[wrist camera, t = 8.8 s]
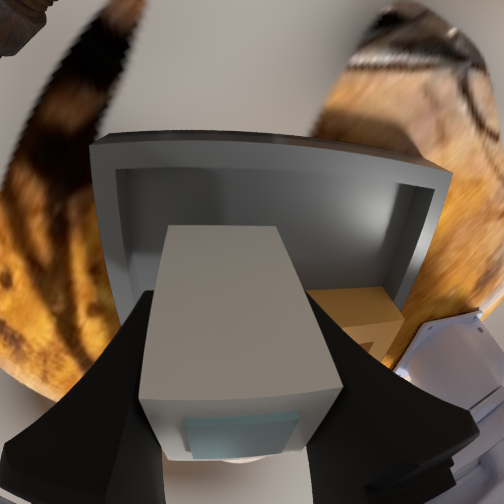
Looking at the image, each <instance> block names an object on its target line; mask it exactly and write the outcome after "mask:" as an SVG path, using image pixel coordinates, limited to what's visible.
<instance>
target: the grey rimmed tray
mask: <svg viewBox="0 0 504 504" xmlns="http://www.w3.org/2000/svg"><path fill="white" fill-rule="evenodd" d="M89 149H90V162H91V173H92V183H93V192H94V200H95V207H96V214H97V220H98V227H99V233H100V238H101V244H102V249H103V254H104V259H105V264H106V268H107V273H108V277H109V282H110V286H111V290H112V294H113V298H114V302H115V306H116V310H117V313H118V317H119V320H120V324H121V326H122V325H123V323H124V322H125V320H126V319H127V317H128V316H129V314H130V313H131V311H132V310H133V308H134V306H135V305H136V303H137V302H138V300H139V298H140V297H141V295H142V293H143V292H144V291H145V290H155V285H156V280H157V275H158V270H159V265H160V261H161V256H162V252H163V247H164V243H165V238H166V234H167V230H168V226H169V225H233V226H276V228H277V230H278V232H279V235H280V237H281V239H282V241H283V244H284V246H285V248H286V250H287V253H288V255H289V257H290V260H291V262H292V264H293V266H294V269H295V271H296V273H297V276H298V278H299V280H300V283H301V285H302V287H303V289H304V290H305V291H306V292H307V293H308V294H309V295H310V296H311V297H312V298H313V299H314V300H315V301H316V302H317V304H318V305H319V306H320V307H321V308H322V309H323V310H324V311H325V312H326V313H327V314H328V315H329V316H330V317H331V318H332V319H333V320H334V321H335V322H336V323H337V324H338V325H339V326H340V327H341V328H342V329H343V330H344V331H345V332H346V333H347V334H348V335H349V336H350V337H351V338H352V339H353V340H354V341H355V342H356V343H358V344H359V345H360V346H361V347H362V348H363V349H364V350H366V351H367V352H368V353H369V354H370V355H372V356H373V357H374V358H375V359H377V360H378V361H379V362H381V361H382V359H383V358H384V356H385V354H386V353H387V351H388V349H389V348H390V346H391V344H392V342H393V341H394V339H395V337H396V335H397V334H398V332H399V330H400V328H401V326H402V324H403V322H404V321H405V319H404V317H403V316H402V314H401V313H400V312H401V310H402V308H403V306H404V303H405V301H406V299H407V297H408V295H409V293H410V291H411V288H412V286H413V284H414V282H415V280H416V277H417V275H418V273H419V270H420V268H421V265H422V263H423V261H424V258H425V256H426V253H427V251H428V248H429V245H430V243H431V240H432V237H433V235H434V232H435V229H436V226H437V224H438V221H439V218H440V215H441V212H442V209H443V206H444V202H445V199H446V196H447V193H448V189H449V186H450V182H451V179H452V175H453V173H452V172H450V171H448V170H446V169H444V168H442V167H440V166H439V165H437V164H435V163H433V162H431V161H429V160H427V159H425V158H422V157H418V156H413V155H409V154H405V153H400V152H395V151H391V150H386V149H381V148H376V147H370V146H365V145H359V144H353V143H347V142H340V141H334V140H327V139H319V138H311V137H303V136H293V135H283V134H272V133H258V132H242V131H216V130H162V131H139V132H122V133H109V134H108V135H106V136H104V137H102V138H101V139H99V140H97V141H96V142H94V143H92V144H91V145H89Z"/></svg>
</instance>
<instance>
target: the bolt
mask: <svg viewBox="0 0 504 504" xmlns="http://www.w3.org/2000/svg"><path fill="white" fill-rule="evenodd" d="M53 1H58V0H0V58H1V57H2V56H14V55H16V54H17V53H18V52H19V51H20V49H22V47H24V46H25V45H26V44H27V42H29V40H30V39H31V38H32V37H34V36H35V35H36V34H37V32H38V31H40V30H41V29H42V28H43V27H44V26H45V24H46V14H45V11H47V7H48V6H52V5H53Z"/></svg>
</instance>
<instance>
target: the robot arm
mask: <svg viewBox="0 0 504 504" xmlns="http://www.w3.org/2000/svg"><path fill="white" fill-rule="evenodd" d="M303 290H304V289H303ZM304 292H305V294H306V297H307V299H308V301H309V304H310V306H311V308H312V311H313V313H314V316H315V318H316V320H317V323H318V325H319V328H320V330H321V332H322V335H323V337H324V340H325V342H326V345H327V347H328V350H329V352H330V355H331V357H332V360H333V362H334V365H335V367H336V370H337V372H338V375H339V377H340V380H341V382H342V385H343V388H342V389H341V391H340V393H339V395H338V396H337V398H336V400H335V401H334V403H333V404H332V406H331V408H330V409H329V411H328V412H327V414H326V416H325V417H324V419H323V420H322V422H321V423H320V425H319V426H318V428H317V429H316V431H315V432H314V434H313V435H312V437H311V438H310V440H309V441H308V442H307V444H306V448H307V455H308V461H309V468H310V476H311V483H312V494H313V504H504V352H503V350H502V349H501V348H500V346H499V345H498V343H497V342H496V341H495V339H494V338H493V337H492V335H491V334H490V333H489V331H488V330H487V329H486V328H485V326H484V325H483V324H482V322H481V321H480V318H481V317H482V315H483V312H482V311H481V310H480V311H476V312H471V313H467V314H463V315H458V316H454V317H449V318H445V319H440V320H435V321H430V322H425V323H424V324H422V326H421V327H420V329H419V330H418V332H417V334H416V336H415V337H414V339H413V341H412V342H411V344H410V345H409V347H408V349H407V350H406V352H405V353H404V355H403V357H402V358H401V360H400V361H399V363H398V364H397V366H396V367H395V369H394V370H393V371H391V370H390V369H389V368H387V367H386V366H385V365H383V364H382V363H381V362H379V361H378V360H377V359H375V358H374V357H373V356H372V355H370V354H369V353H368V352H367V351H366V350H364V349H363V348H362V347H361V346H360V345H359V344H358V343H356V342H355V341H354V340H353V339H352V338H351V337H350V336H349V335H348V334H347V333H346V332H345V331H344V330H343V329H342V328H341V327H340V326H339V325H338V324H337V323H336V322H335V321H334V320H333V319H332V318H331V317H330V316H329V315H328V314H327V313H326V312H325V311H324V310H323V309H322V308H321V307H320V306H319V305H318V304H317V302H316V301H315V300H314V299H313V298H312V297H311V296H310V295H309V294H308V293H307V292H306V291H305V290H304ZM153 295H154V290H145V291H144V292H143V293H142V295H141V297H140V298H139V300H138V302H137V303H136V305H135V306H134V308H133V310H132V311H131V313H130V314H129V316H128V317H127V319H126V320H125V322H124V323H123V325H122V326H121V328H120V329H119V331H118V332H117V334H116V335H115V336H114V338H113V339H112V341H111V342H110V343H109V345H108V346H107V347H106V349H105V350H104V351H103V352H102V354H101V355H100V356H99V358H98V359H97V360H96V361H95V363H94V364H93V365H92V366H91V368H90V369H89V370H88V371H87V372H86V373H85V374H84V376H83V377H82V378H81V379H80V380H79V381H78V382H77V383H76V384H75V385H74V386H73V387H72V388H71V389H70V390H69V391H68V393H67V394H66V395H65V396H64V397H62V398H61V399H60V400H59V401H58V402H57V403H56V404H55V405H54V406H53V407H52V408H50V409H49V410H48V411H47V412H46V413H45V414H43V415H42V416H41V417H40V418H39V419H38V420H36V421H35V422H34V423H33V424H31V425H30V426H29V427H27V428H26V429H25V430H23V431H22V432H20V433H19V434H18V435H16V436H15V437H13V438H12V439H11V440H9V441H7V442H6V443H5V444H4V447H3V451H2V455H1V460H0V487H1V488H2V489H4V490H6V491H8V492H10V493H12V494H13V495H15V496H17V497H20V498H22V499H24V500H26V501H28V502H31V504H166V501H165V493H164V483H163V469H162V450H161V445H160V443H159V441H158V439H157V437H156V435H155V433H154V431H153V429H152V427H151V425H150V423H149V421H148V419H147V416H146V414H145V412H144V410H143V408H142V405H141V403H140V401H139V389H140V380H141V372H142V364H143V357H144V350H145V343H146V336H147V330H148V324H149V318H150V312H151V306H152V301H153ZM406 376H410V378H411V380H412V382H413V383H414V385H413V384H411V383H410V382H408V381H407V380H405V379H404V378H402V377H406ZM0 504H16V503H14V502H12V501H9V500H7V499H5V498H3V497H1V496H0Z"/></svg>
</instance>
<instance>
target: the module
mask: <svg viewBox="0 0 504 504" xmlns="http://www.w3.org/2000/svg"><path fill="white" fill-rule="evenodd" d="M342 388H343V385H342V382H341V380H340V377H339V375H338V372H337V370H336V367H335V365H334V362H333V360H332V357H331V355H330V352H329V350H328V347H327V345H326V342H325V340H324V337H323V335H322V332H321V330H320V328H319V325H318V323H317V320H316V318H315V316H314V313H313V311H312V308H311V306H310V304H309V301H308V299H307V297H306V294H305V292H304V290H303V287H302V285H301V283H300V280H299V278H298V276H297V273H296V271H295V269H294V266H293V264H292V262H291V260H290V257H289V255H288V253H287V250H286V248H285V246H284V244H283V241H282V239H281V237H280V235H279V232H278V230H277V228H276V226H233V225H169V226H168V230H167V234H166V238H165V243H164V247H163V252H162V256H161V261H160V265H159V270H158V275H157V280H156V285H155V290H154V295H153V301H152V306H151V312H150V318H149V324H148V330H147V336H146V343H145V350H144V357H143V364H142V372H141V380H140V389H139V401H140V403H141V405H142V408H143V410H144V412H145V414H146V416H147V419H148V421H149V423H150V425H151V427H152V429H153V431H154V433H155V435H156V437H157V439H158V441H159V443H160V445H161V447H162V449H163V451H164V453H165V454H166V456H167V458H168V460H179V461H180V460H182V461H183V460H184V461H211V460H234V459H248V458H259V457H268V456H276V455H283V454H289V453H296V452H301V451H302V450H303V448H304V447H305V445H306V444H307V442H308V441H309V440H310V438H311V437H312V435H313V434H314V432H315V431H316V429H317V428H318V426H319V425H320V423H321V422H322V420H323V419H324V417H325V416H326V414H327V412H328V411H329V409H330V408H331V406H332V404H333V403H334V401H335V400H336V398H337V396H338V395H339V393H340V391H341V389H342Z"/></svg>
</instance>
